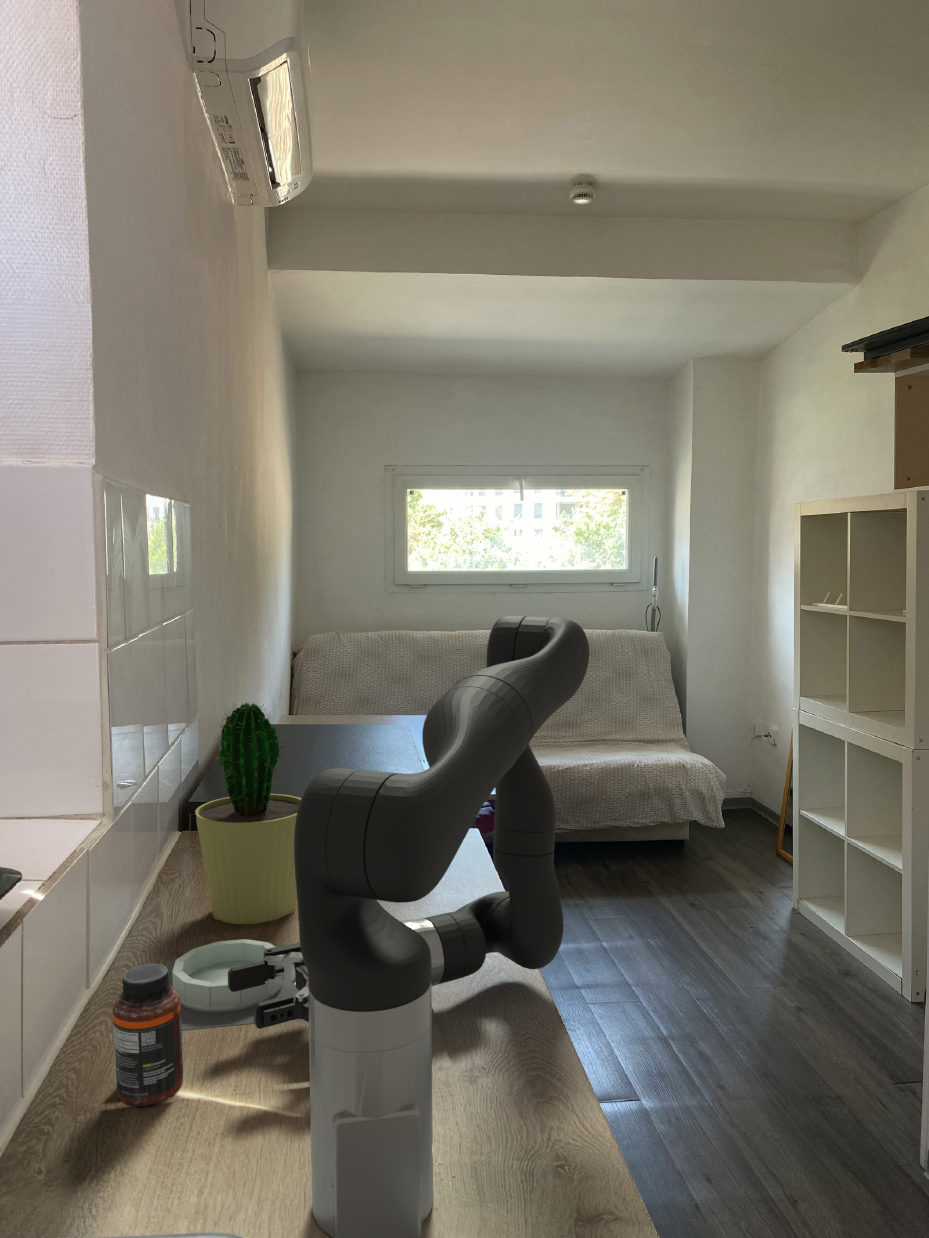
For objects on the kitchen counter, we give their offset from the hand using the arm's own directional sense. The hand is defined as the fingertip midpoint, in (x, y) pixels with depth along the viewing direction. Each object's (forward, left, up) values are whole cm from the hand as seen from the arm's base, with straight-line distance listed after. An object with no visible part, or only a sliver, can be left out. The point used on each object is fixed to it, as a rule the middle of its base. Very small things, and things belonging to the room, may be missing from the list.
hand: (241, 998), depth 89 cm
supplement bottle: (-3, +8, -7) cm, 11 cm away
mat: (+16, +2, -7) cm, 17 cm away
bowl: (+16, +2, -6) cm, 17 cm away
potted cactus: (+40, 0, -7) cm, 41 cm away
